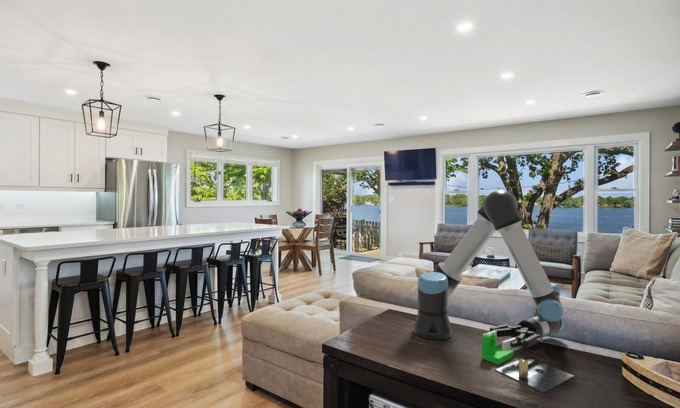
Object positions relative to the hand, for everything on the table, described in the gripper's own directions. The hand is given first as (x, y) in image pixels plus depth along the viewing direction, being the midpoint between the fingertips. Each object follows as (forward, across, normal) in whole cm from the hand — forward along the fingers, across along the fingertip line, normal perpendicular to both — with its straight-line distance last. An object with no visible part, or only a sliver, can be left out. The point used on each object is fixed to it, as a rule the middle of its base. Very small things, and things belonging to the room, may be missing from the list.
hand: (493, 342), depth 122 cm
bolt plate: (-3, -13, -6) cm, 14 cm away
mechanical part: (-4, 0, -6) cm, 7 cm away
